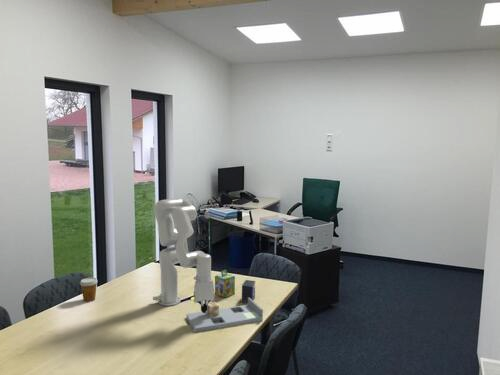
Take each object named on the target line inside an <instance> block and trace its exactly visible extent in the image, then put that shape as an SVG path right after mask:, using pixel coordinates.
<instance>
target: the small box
mask: <svg viewBox="0 0 500 375" xmlns="http://www.w3.org/2000/svg"><path fill="white" fill-rule="evenodd" d="M248 298H251V299H252V300H253V301H254V300H255V298H256V280H251V279H250V280H249V279H245V280H244V282H243V283H242V285H241V303H242V304H243V303H244V304H248Z"/></svg>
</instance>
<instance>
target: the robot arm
mask: <svg viewBox="0 0 500 375" xmlns="http://www.w3.org/2000/svg"><path fill="white" fill-rule="evenodd" d="M153 212H154V216H155V219H156V222H157V230H158V239H159V243H160V245H161V246H162V247H166V248H164V249H162V250H161V251H159V253H158V262H159V267H160V293H159V295H156V296H152V301H155V302H158V304H159V305H160V306H167V307H169V306H175V305H178V304H180V302H181V298H180V297H179V294H178V293H179V292H178V291H179V290H178V286H179V284H178V283H179V282H178V281H179V280H178V279H179V277H178V270H177V268H176V267H175V265H176V264H180V266H181V267H182V268H184V269H188V268H192V267H196V276H193V280H195V282H194V287H193V288H194V289H193V298H194V299H193V303H195V304H199V305H200V312H203V313H206V311H207V305H208V303H211V302H213V301H215V284H214V280H213V279H212V256H211V255H210V254H209V253H205V252H204V251H202V250H196V251H190V252H189V248H188V238H189V237H191V236H192V235H193V234H194V233H195V230H194V228H193V225H192V222H191V221H194V220H197V217H198V211H197V209H196V208H195V206H194V205H193V204H191V203H190V202H189V201H187V200H185V199H184V198H180V197H179V198H168V199H161V200H158V201H157V202H155V204H154V207H153ZM169 215H171V217H172V218H171V217H170V216H169ZM174 226H175V227H174ZM170 246H172V247H170ZM173 246H174V247H173ZM167 247H168V248H167Z"/></svg>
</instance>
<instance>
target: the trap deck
mask: <svg viewBox="0 0 500 375" xmlns="http://www.w3.org/2000/svg"><path fill="white" fill-rule="evenodd" d="M263 311H264V309H263V308H262V307H260V305H259V304H257V303H256V302H255V301H254V300H252V299H251V298H248V303H247V304H244V305H236V306H231V307H224V308H219V315H216V316H209V315H208V313H207V311H206V313H203V312H202V311H196V312H191V313H186V314H185V315H186V316H185V317H186V319H187V321H188V323H189V325H190V326H191V328H192V329H193V331H194V332H195V333H200V332H204V331H209V330H211V331H212V330H216V329H222V328H228V327H234V326H239V325H240V326H241V325H245V324H251V323H256V322H257V323H258V322H261V321H262V322H263V319H264V318H263V316H264V314H263V313H264V312H263Z"/></svg>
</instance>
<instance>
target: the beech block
mask: <svg viewBox="0 0 500 375" xmlns="http://www.w3.org/2000/svg"><path fill="white" fill-rule="evenodd" d="M219 309H220V305H219V304H218V303H217V302H215V301H214V302H209V303H208V305H207V313H208V315H209V316H216V315H219Z"/></svg>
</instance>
